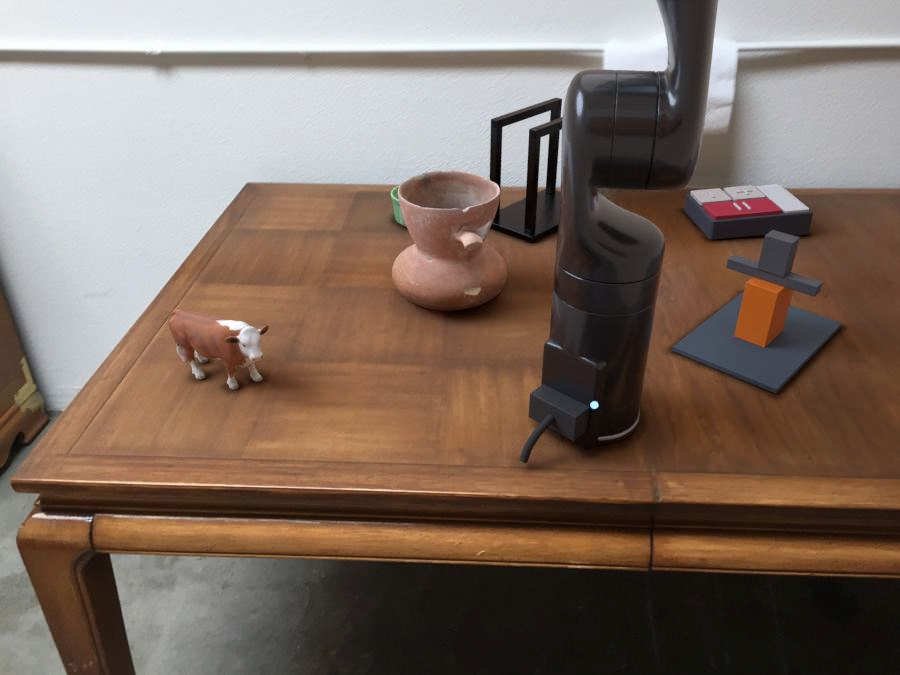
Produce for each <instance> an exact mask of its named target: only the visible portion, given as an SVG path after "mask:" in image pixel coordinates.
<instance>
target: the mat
mask: <svg viewBox="0 0 900 675" xmlns="http://www.w3.org/2000/svg"><path fill="white" fill-rule="evenodd" d="M743 295H744V290H743V291H742V292H740V293H739V294H738V295H737V296H735V297H734V298H732V299H731V300H730V301H729V302H728V303H727V304H725V305H724V306H722V308H720V309H719V310H718V311H716V312H715V313H714V314H713V315H711V316H710V317H709V318H707V319H706V320H705V321H704V322H702V323H701V324H700V325H699V326H697V327H696V328H694V329H693V330H692V331H691V332H689V334H687V335H686V336H684V337H683V338H682V339H681V340H679V341H678V342H677V343H676V344H674V345H673V346H672V350H671V351H672V352H674V353H677V354H679V355H681V356H684V357H686V358H689V359H691V360H693V361H696V362H698V363H700V364H703V365H706V366H707V367H710V368H713V369H715V370H717V371H719V372H721V373H724V374H727V375H729V376H732V377H734V378H737V379H739V380H741V381H744V382H747V383H749V384H751V385H754V386H755V387H759V388H761V389H763V390H766V391H768V392H770V393H772V394H776V395H777V393H778V392H779V391H780V390H782V388H784V386H785V385H786V384H787V383H788V382H789V381H790V380H791V379H792V378H793V377H794V376H795V375H796V374H797V373H798V372H799V371H800V370H801V369H802V368H803V367H804V366H805V365H806V363H807V362H808V361H809V360H811V359H812V358H813V356H815V354H817V352H818V351H819V350H820V349H821V348H822V347H823V346H824V345H825V344H826V343H827V342H828V341H829V340H830V339H831V338H832V337H833V336H834V335H835V334H836V333H837V332H838V331H839V330H840V329H841V328H842V324H843V323H842V322H840V321H837V320H834V319H831V318H828V317H825V316H822V315H819V314H816V313H815V312H811V311H807V310H804V309H802V308H799V307H796V306H793V305H791V304H790V305H789V309H788V313H787V317H786V320H785V324H784V328H783V331H782V332H781V333H780V334H779V335H777V336H776V337H775V338H774V339H773V340H772V341H771V342H770V343H769V344H768V345H767V346H766V347H765V348H764V347H761V346H758V345H756V344H753V343H750V342H748V341H745V340H742V339H740V338H737V337H735V336H734V335H735V330H736V326H737V321H738V317H739V313H740V308H741V304H742V299H743Z"/></svg>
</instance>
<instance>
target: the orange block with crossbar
mask: <svg viewBox="0 0 900 675" xmlns="http://www.w3.org/2000/svg"><path fill="white" fill-rule="evenodd" d="M800 239H801V237H800V236H793V235H789V234H786V233H782V232H779V231H775V230H772V231H770V232H769V233H768V234H766V235H764V238H763V241H762V247H761V250H760V255H759V259H758V261H757V260H754V259H751V258H747V257H745V256H741V255H738V254H735V253H734V254H732V255H731V256H730V257H728V258H727V262H726V267H725V268H726V269H728V270H731V271H735V272H737V273H740V274H742V275H743V274H744V275H746V276H749V277H751V278H750V279H749V280H747V281H746V282H745V287H744V290H743V291H744V295H743V299H742V304H741V308H740V313H739V317H738V321H737V326H736V330H735V335H734V336H735V337H737V338H740V339H742V340H745V341H748V342H750V343H753V344H756V345H758V346H761V347H764V348H765V347H766V346H767V345H768V344H769V343H770V342H771V341H772V340H773V339H774V338H775V337H776V336H777V335H779V334H780V333H781V332H782V331H783V328H784V324H785V320H786V317H787V313H788V309H789V305H790V306H791V302H792V298H793V294H794V291H796V292H798V293H801V294H805V295H808V296H810V297H814V298H815V297H816V296H817V295H818V294H820V293H821V291H822V288H823V281H821V280H819V279H814V278H812V277H809V276H805V275H802V274H800V273H799V274H798V273H795V272H792V270H793V267H794V262H795V259H796V255H797V251H798V247H799V242H800Z"/></svg>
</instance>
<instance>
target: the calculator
mask: <svg viewBox="0 0 900 675" xmlns="http://www.w3.org/2000/svg"><path fill="white" fill-rule="evenodd" d="M684 201H685V202H684V203H685V204H684V208H683V209H684V213H685V214H686V215H687V216H688V218H690V220H691V221H692V222H693V223H694V224H695V225H696V226H697V227H698V228H699V229H700V230H701V232H702V233H703V234H704V235H705V236H706V238H708V240H712V241H713V240H714V241H715V240H724V239H725V240H727V239H736V238H737V239H738V238H747V237H756V236H757V237H758V236H765V235H766V234H768V233H769V232H770V231H772V230H775V231H779V232H782V233H786V234H789V235H793V236H796V237H799V236H806V235H809V234H810V229H811V225H812V221H813V214H814V211H813V210H812V209H811V208H809V207H808V206H807V205H806V204H805V203H803V202H802V201H801V200H799V199H798V198H797V197H796V196H795V195H793V194H792V193H791V192H790V191H789V190H788V189H786V188H785V187H783V186H782V185H781V184H780V183H774V184H762V185H756V186H755V185H754V184H753V185H752V184H751V185H750V184H749V185H738V186H737V185H736V186H729V187H726V186H725V187H723V189H721V188H719V187H718V188H707V189H706V188H704V189H696V190H695V189H694V190H690V192H688V193H686V194H685V200H684Z"/></svg>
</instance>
